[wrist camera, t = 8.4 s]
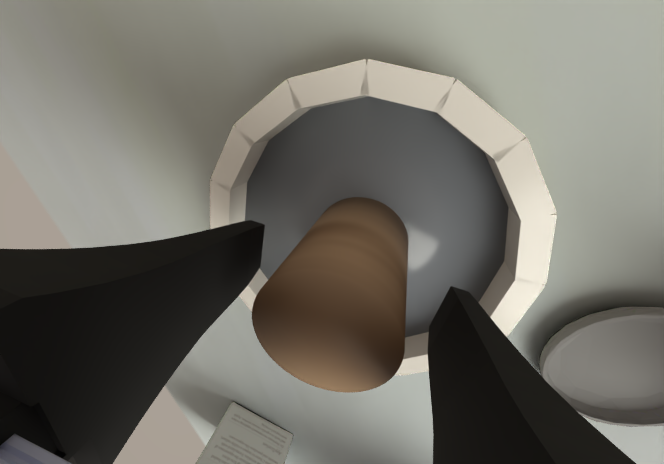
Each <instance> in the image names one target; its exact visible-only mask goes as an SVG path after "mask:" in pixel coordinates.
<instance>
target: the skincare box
mask: <svg viewBox="0 0 664 464" xmlns="http://www.w3.org/2000/svg"><path fill="white" fill-rule="evenodd" d="M292 439H293V434H291V433H290V432H288V431H286V430H284V429H282V428H280V427H278V426H276V425H274V424H273V423H271V422H269V421H267V420H265V419H263V418H261V417H260V416H258V415H256V414H254V413H252V412H250V411H249V410H247V409H245V408H243V407H241V406H240V405H238V404H236V403H235V402H232V403H231V404H230V406H229V408H228V409H227V411H226V413H225V414H224V416H223V418H222V419H221V421H220V423H219V425H218V426H217V428H216V430H215V432H214V433H213V435H212V437H211V438H210V440H209V442H208V444H207V445H206V447H205V449H204V450H203V452H202V454H201V455H200V457H199V459H198V460H197V462H196V464H284V463H285V460H286V457H287V454H288V451H289V448H290V445H291V442H292Z"/></svg>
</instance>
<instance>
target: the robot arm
mask: <svg viewBox="0 0 664 464" xmlns="http://www.w3.org/2000/svg"><path fill="white" fill-rule="evenodd" d="M264 229H265V224H262V223H259V222H255V221H252V220H247V221H242V222H238V223H233V224H229V225H225V226H221V227H218V228H214V229H210V230H206V231H202V232H197V233H193V234H188V235H183V236H179V237H174V238H169V239H164V240H158V241H151V242H144V243H137V244H129V245H117V246H106V247H94V248H75V249H26V250H25V249H0V464H113V462H114V460H115V459H116V457H117V456H118V454H119V453H120V451H121V450H122V448H123V447H124V445H125V443H126V442H127V440H128V439H129V437H130V436H131V434H132V433H133V431H134V430H135V428H136V426H137V425H138V423H139V422H140V420H141V419H142V417H143V416H144V414H145V413H146V411H147V410H148V409H149V407H150V406H151V404H152V403H153V401H154V400H155V398H156V397H157V396H158V394H159V392H160V391H161V390H162V388H163V387H164V385H165V384H166V383H167V381H168V380H169V379H170V377H171V376H172V374H173V373H174V372H175V370H176V369H177V368H178V366H179V365H180V363H181V362H182V361H183V359H184V358H185V357H186V355H187V354H188V353H189V351H190V350H191V349H192V348H193V346H194V345H195V344H196V342H197V341H198V340H199V338H200V337H201V336H202V335H203V334H204V333H205V331H206V330H207V329H208V328H209V327H210V326H211V325H212V324H213V323H214V321H215V320H216V319H217V318H218V317H219V316H220V315H221V314H222V313H223V312H224V311H225V310H226V309H227V308H228V307H229V305H230V304H231V303H232V302H233V301H234V300H235V299H236V298H237V297H238V296H239V295H240V294H241V292H242V291H243V290H244V289H245V288H246V287H247V286H248V284H249V283H250V282H251V280H252V279H253V277H254V276H255V274H256V273H257V271H258V270H259V268H260V267H261V258H262V248H263V238H264ZM428 366H429V379H430V390H431V402H432V414H433V433H434V439H433V464H636V463H635V462H634V461H632V460H631V459H630V458H629V457H628V456H627V455H625V454H624V453H623V452H622V451H621V450H620V449H618V448H617V447H616V446H615V445H614V444H613V443H612V442H610V441H609V440H608V439H607V438H606V437H605V436H604V435H603V434H601V433H600V432H599V431H598V430H597V429H596V428H595V427H593V426H592V425H591V424H590V423H589V422H588V421H587V420H586V419H585V418H584V417H582V416H581V415H580V414H579V413H578V412H577V411H576V410H575V409H574V408H573V407H572V406H571V405H570V404H569V403H568V402H567V401H566V400H565V399H564V398H563V397H562V396H561V395H560V394H559V393H558V392H557V391H555V390H554V389H553V388H552V387H551V386H550V385H549V384H548V383H547V382H546V381H545V379H544V378H543V377H542V376H541V375H540V374H539V373H538V372H537V371H536V370H535V369H534V368H533V367H532V366H531V365H530V363H529V362H528V361H527V360H526V359H525V358H524V357H523V356H522V355H521V353H520V352H519V351H518V350H517V349H516V348H515V347H514V345H513V344H512V343H511V342H510V341H509V340H508V338H507V337H506V336H505V335H504V334H503V332H502V331H501V330H500V329H499V328H498V326H497V325H496V324H495V323H494V321H493V320H492V319H491V318H490V316H489V315H488V314H487V313H486V311H485V310H484V309H483V308H482V306H481V305H480V304H479V303H478V302H477V300H476V299H475V298H474V297H473V296H472V295H471V294H470V293H469V292H468V291H465V290H462V289H459V288H456V287H453V286H450V288H449V290H448V292H447V294H446V296H445V298H444V300H443V301H442V303H441V305H440V307H439V309H438V311H437V313H436V314H435V316H434V318H433V320H432V322H431V324H430V326H429V334H428Z"/></svg>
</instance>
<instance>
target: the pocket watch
mask: <svg viewBox="0 0 664 464" xmlns="http://www.w3.org/2000/svg"><path fill="white" fill-rule="evenodd" d="M539 367H540V372H541V376H542V377H543V378H544V379H545V381H546V382H547V383H548V384H549V385H550V386H551V387H552V388H553V389H554V390H555V391H557V392H558V393H559V394H560V395H561V396H562V397H563V398H564V399H565V400H566V401H567V402H568V403H569V404H570V405H571V406H572V407H573V408H574V409H575V410H576V411H577V412H578V413H579V414H580V415H582V416H584V417H587V418H589V419H591V420H594V421H598V422H602V423H607V424H612V425H621V426H629V427H637V426H664V308H663V307H619V308H615V309H610V310H606V311H602V312H597V313H593V314H589V315H587V316H584V317H582V318H580V319H578V320H576V321H574V322H572V323H570V324H567V325H566V326H565V327H563V328H562V329H561V330H560V331H559V332H557V333H556V334H555V335H554V336H552V337H551V338H550V340H549V341H548V342H547V344H546V345H545V346H544V349H543V351H542V353H541V356H540V364H539Z"/></svg>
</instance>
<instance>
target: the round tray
mask: <svg viewBox="0 0 664 464" xmlns="http://www.w3.org/2000/svg"><path fill="white" fill-rule="evenodd" d="M454 79H455V78H453V77H448V76H444V75H439V74H435V73H430V72H426V71H421V70H416V69H412V68H407V67H403V66H398V65H394V64H389V63H385V62H380V61H376V60H371V59H368V61H367V60H366V59H363V60H359V61H355V62H351V63H347V64H343V65H339V66H335V67H331V68H327V69H323V70H319V71H315V72H311V73H307V74H303V75H299V76H295V77H291V78H288V80H287V79H286V80H284V81H283V82H282V83H281V84H280V85H279V86H277V87H276V88H275V89H274V90H273V91H272V92H270V93H269V94H268V95H267V96H266V97H265V98H263V99H262V100H261V101H260V102H259V103H258V104H257V105H255V106H254V107H253V108H252V109H251V110H250V111H248V112H247V113H246V114H245V115H244V116H243V117H241V118H240V119H239V120H238V121H237V122H236V123H234V124H235V125H233V127H232V129H231V132H230V134H229V136H228V139H227V141H226V143H225V146H224V148H223V150H222V152H221V155H220V157H219V159H218V162H217V164H216V166H215V169H214V171H213V173H212V176H211V178H210V179H211V180H210V229H214V228H218V227H221V226H225V225H229V224H233V223H238V222H242V221H247V220H252V221H255V222H259V223H262V224H265V229H264V238H263V248H262V258H261V267H260V268H259V270H258V271H257V273H256V274H255V276H254V277H253V279H252V280H251V282H250V283H249V284H248V286H247V287H246V288H245V289H244V290H243V291H242V292H241V294H240V295H239V296H240V298H241V299H242V300H243V301H244V303H245V304H246V305H247V307H248V308H249V309H250V310H251V312H252V308H253V303H254V300H255V298H256V296H257V294H258V292H259V291H260V289H261V288H262V287H263V286H264V284H265V283H266V282H267V281H268V280H269V278H270V277H271V276H272V275H273V274H274V272H275V271H276V270H277V269H278V267H279V266H280V265H281V264H282V263H283V261H284V260H285V259H286V258H287V257H288V255H289V254H290V253H291V252H292V250H293V249H294V248H295V247H296V246H297V244H298V243H299V242H300V241H301V240H302V238H303V237H304V236H305V235H306V233H307V232H308V231H309V230H310V229H311V227H312V226H313V225H314V224H315V223H316V221H317V220H318V219H319V218H320V216H321V215H322V214H323V213H324V212H325V211H326V210H327V209H328V208H329V207H330V206H331V205H333V204H334V203H336V202H338V201H340V200H343V199H346V198H352V197H364V198H370V199H374V200H376V201H379V202H381V203H383V204H385V205H387V206H388V207H389V208H391V209H392V210H393V211H394V212H395V213H396V214H397V215H398V216H399V217H400V219H401V220H402V222H403V223H404V226H405V228H406V231H407V234H408V270H407V297H406V324H405V351H404V357H403V361H402V363H401V366H400V368H399V369H398V371H397V372H396V374H395V375H397V376H400V375H401V376H403V375H408V374H414V373H419V372H425V371H429V366H428V334H429V326H430V324H431V322H432V320H433V318H434V316H435V314H436V313H437V311H438V309H439V307H440V305H441V303H442V301H443V300H444V298H445V296H446V294H447V292H448V290H449V288H450V286H453V287H456V288H459V289H462V290H465V291H468V292H469V293H470V294H471V295H472V296H473V297H474V298H475V299H476V300H477V302H478V303H479V304H480V305H481V306H482V308H483V309H484V310H485V311H486V313H487V314H488V315H489V316H490V318H491V319H492V320H493V321H494V323H495V324H496V325H497V326H498V328H499V329H500V330H501V331H502V332H503V334H504V335H505V336H506V335H507V336H508V335H509V334H510V333H511V331H512V330H513V329H514V327H515V326H516V325H517V323H518V322H519V321H520V319H521V318H522V317H523V315H524V314H525V313H526V311H527V310H528V309H529V307H530V306H531V305H532V303H533V302H534V301H535V299H536V298H537V297H538V295H539V294H540V293H541V291H542V290H543V289H544V287H545V286H546V285H545V284H547V277H548V271H549V264H550V258H551V251H552V245H553V238H554V231H555V225H556V218H557V214H555V213H557V212H556V209H555V207H554V204H553V202H552V199H551V196H550V194H549V191H548V189H547V186H546V184H545V181H544V179H543V176H542V174H541V171H540V168H539V166H538V163H537V161H536V158H535V156H534V153H533V151H532V148H531V146H530V143H529V140H528V138H526V137H525V136H526V135H524V134H523V133H522V132H521V131H519V130H518V129H517V128H516V127H515V126H513V125H512V124H511V123H510V122H509V121H507V120H506V119H505V118H504V117H503V116H501V115H500V114H499V113H498V112H497V111H495V110H494V109H493V108H492V107H490V106H489V105H488V104H487V103H486V102H484V101H483V100H482V99H481V98H480V97H478V96H477V95H476V94H475V93H474V92H472V91H471V90H470V89H469V88H467V87H466V86H465V85H464V84H463V83H461V82H460V81H459V80H458V79H457V80H455V81H454ZM507 336H506V337H507Z"/></svg>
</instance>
